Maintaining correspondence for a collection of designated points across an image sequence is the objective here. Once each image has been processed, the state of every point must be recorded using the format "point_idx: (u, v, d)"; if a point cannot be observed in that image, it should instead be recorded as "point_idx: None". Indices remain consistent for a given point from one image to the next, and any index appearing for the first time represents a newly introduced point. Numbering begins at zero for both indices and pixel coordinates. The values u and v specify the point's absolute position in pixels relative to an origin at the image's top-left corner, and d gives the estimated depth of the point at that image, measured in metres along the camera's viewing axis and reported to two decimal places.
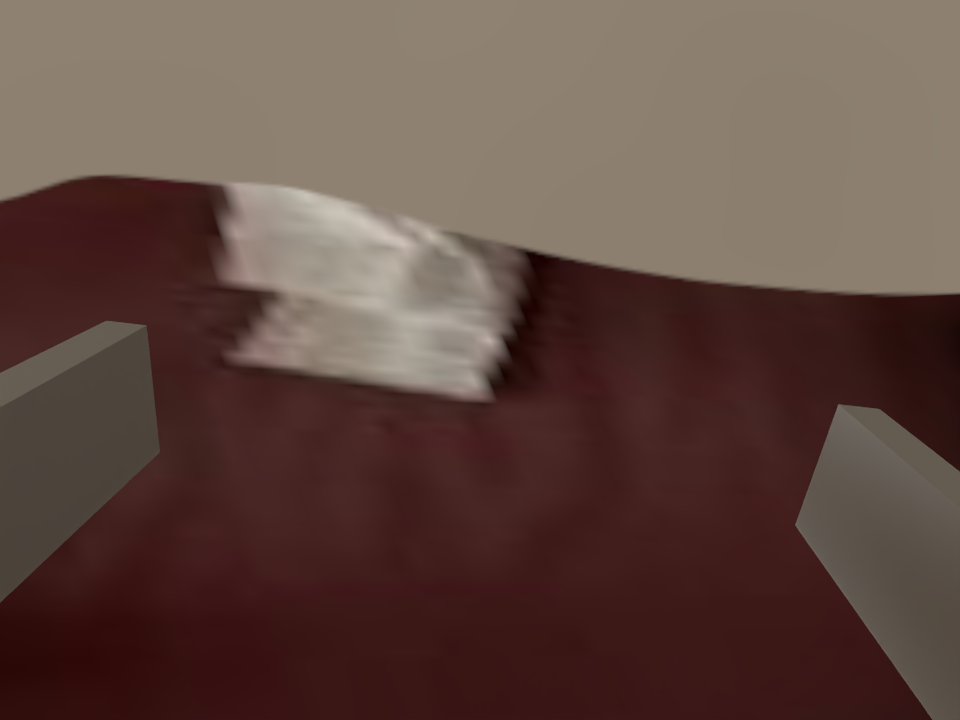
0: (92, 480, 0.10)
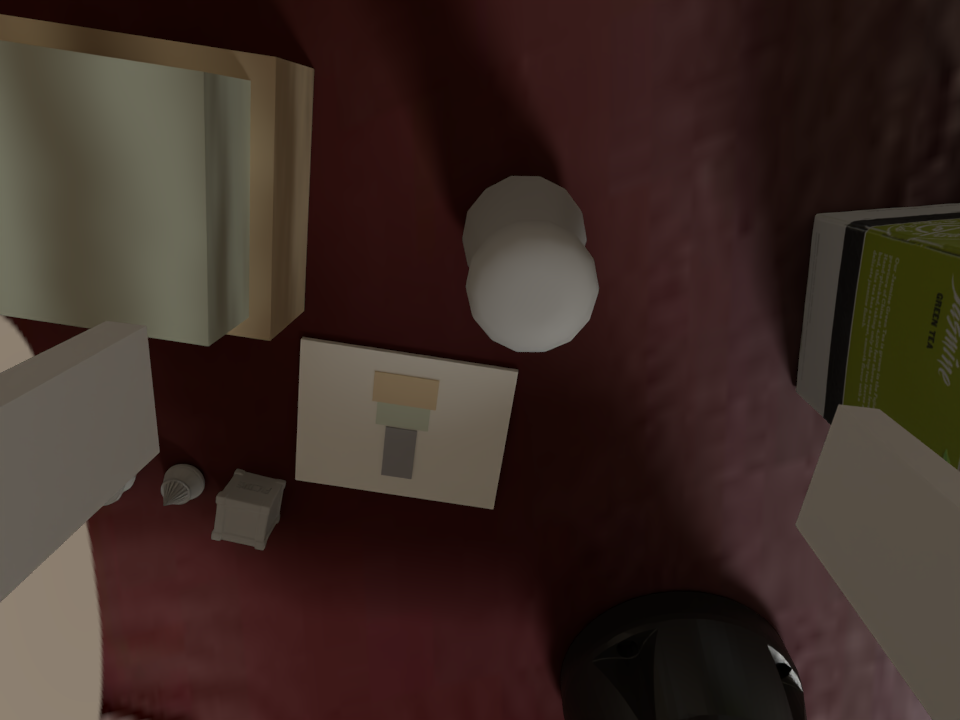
0: (92, 480, 0.10)
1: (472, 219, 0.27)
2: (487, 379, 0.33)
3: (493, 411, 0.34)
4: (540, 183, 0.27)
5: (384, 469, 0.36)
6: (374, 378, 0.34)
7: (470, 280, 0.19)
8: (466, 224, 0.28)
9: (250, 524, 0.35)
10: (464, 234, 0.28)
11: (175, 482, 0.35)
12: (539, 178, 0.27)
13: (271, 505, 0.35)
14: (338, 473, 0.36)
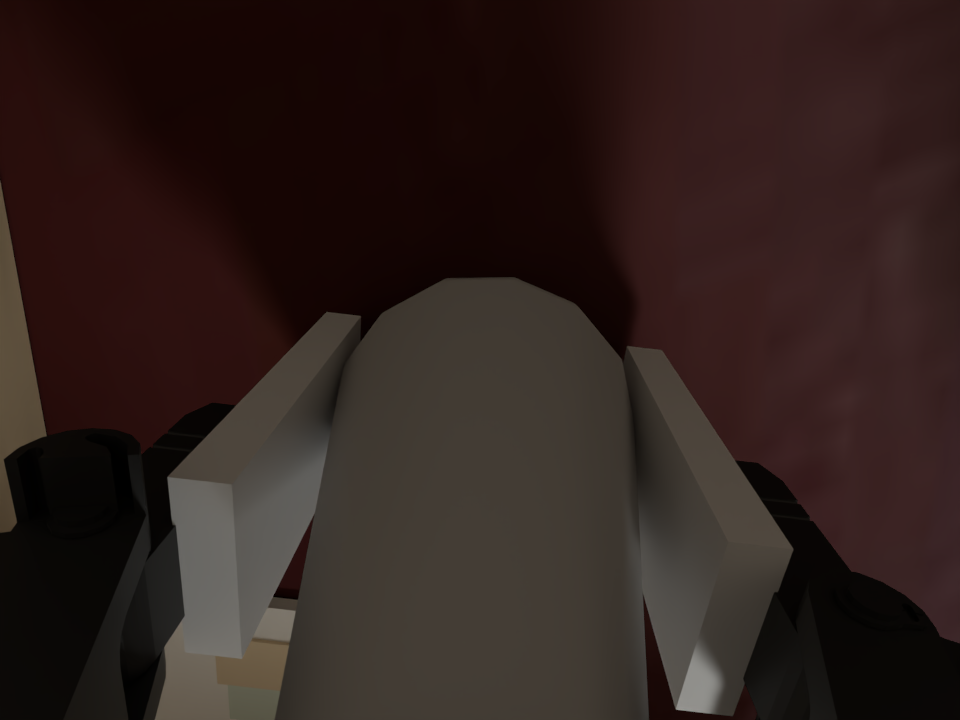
0: None
1: (335, 412, 0.10)
2: None
3: None
4: (513, 309, 0.10)
5: None
6: None
7: None
8: None
9: None
10: None
11: None
12: (512, 288, 0.11)
13: None
14: None
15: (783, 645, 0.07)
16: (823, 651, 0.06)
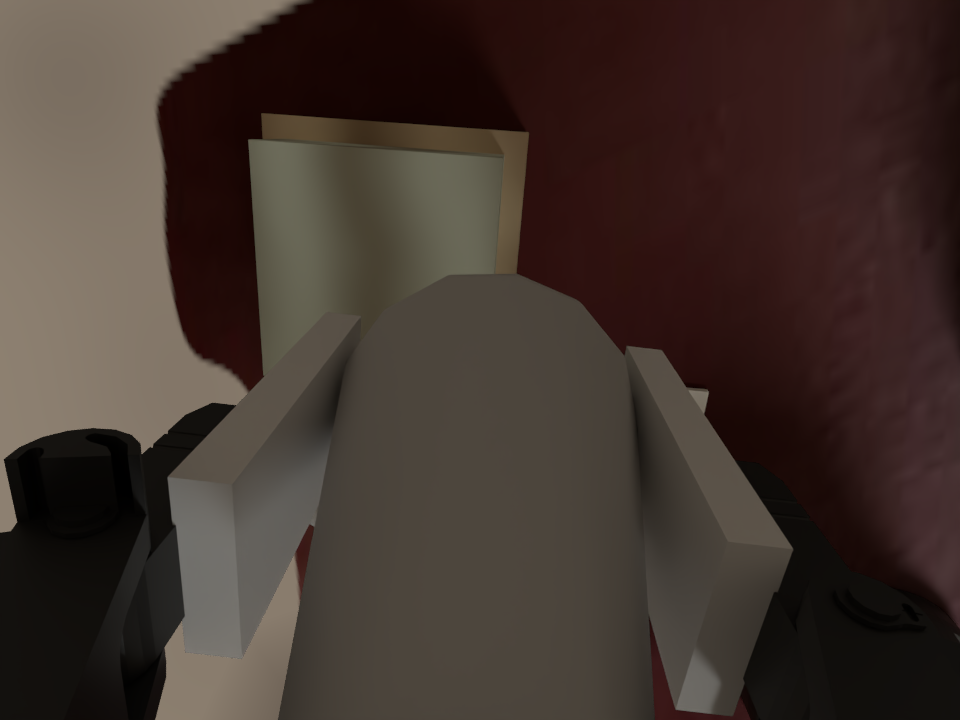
0: None
1: (338, 409, 0.10)
2: None
3: None
4: (516, 306, 0.10)
5: None
6: None
7: None
8: None
9: None
10: None
11: None
12: (515, 285, 0.11)
13: None
14: None
15: (782, 644, 0.07)
16: (823, 651, 0.06)
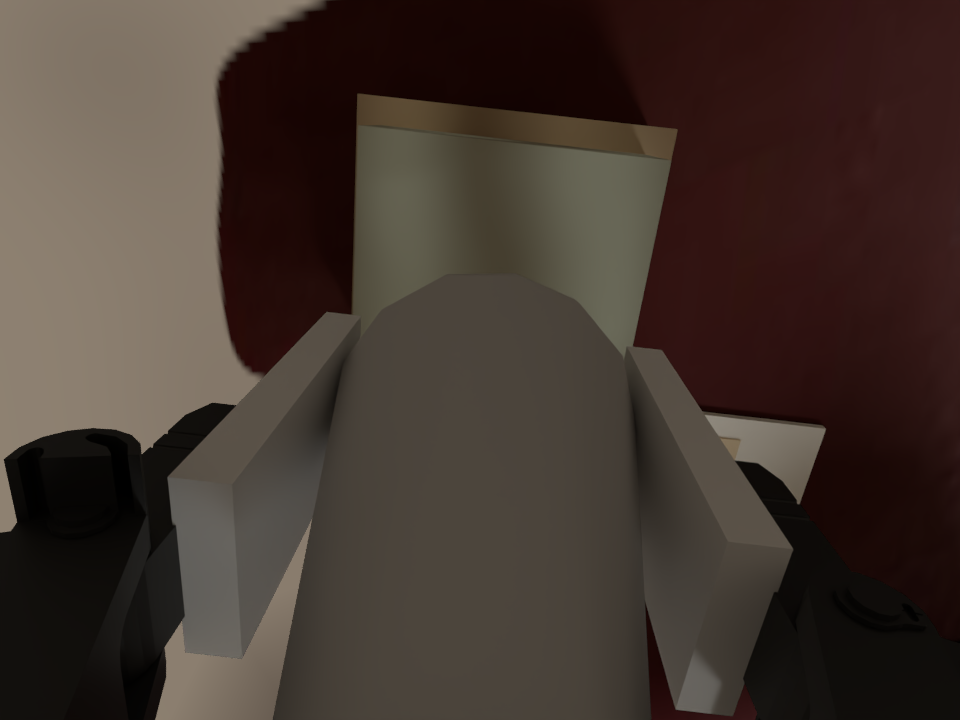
0: None
1: (335, 408, 0.10)
2: (791, 437, 0.32)
3: (793, 468, 0.33)
4: (514, 305, 0.10)
5: None
6: None
7: None
8: None
9: None
10: None
11: None
12: (513, 284, 0.11)
13: None
14: None
15: (782, 645, 0.07)
16: (823, 651, 0.06)
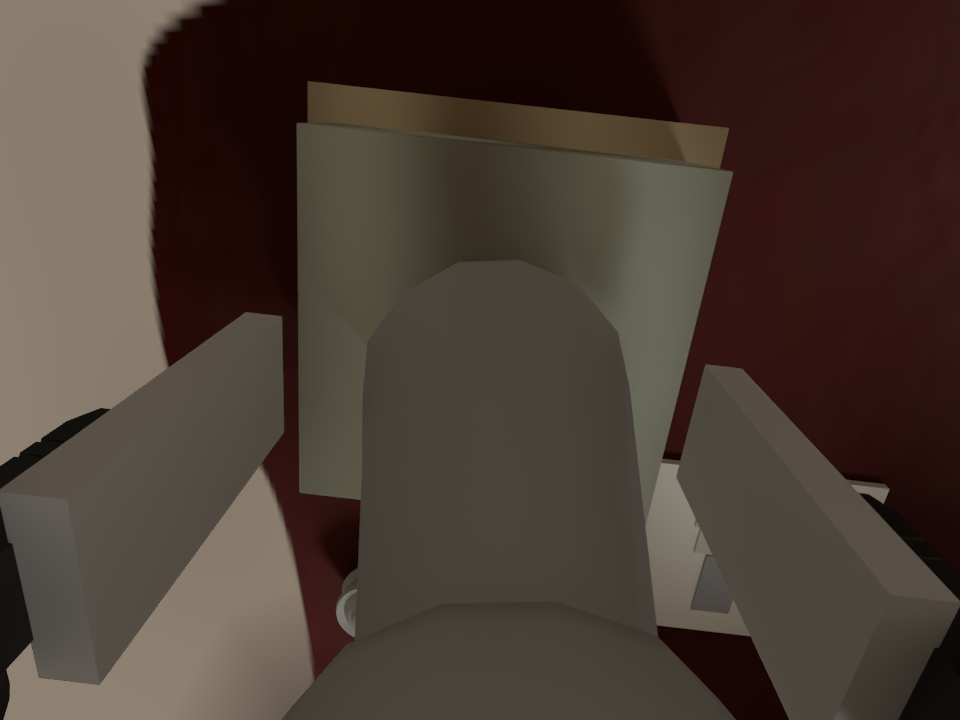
0: (247, 453, 0.11)
1: (367, 380, 0.11)
2: None
3: None
4: (523, 286, 0.11)
5: (696, 603, 0.29)
6: None
7: None
8: (365, 372, 0.13)
9: None
10: (363, 392, 0.13)
11: None
12: (520, 268, 0.12)
13: None
14: None
15: (953, 708, 0.06)
16: None
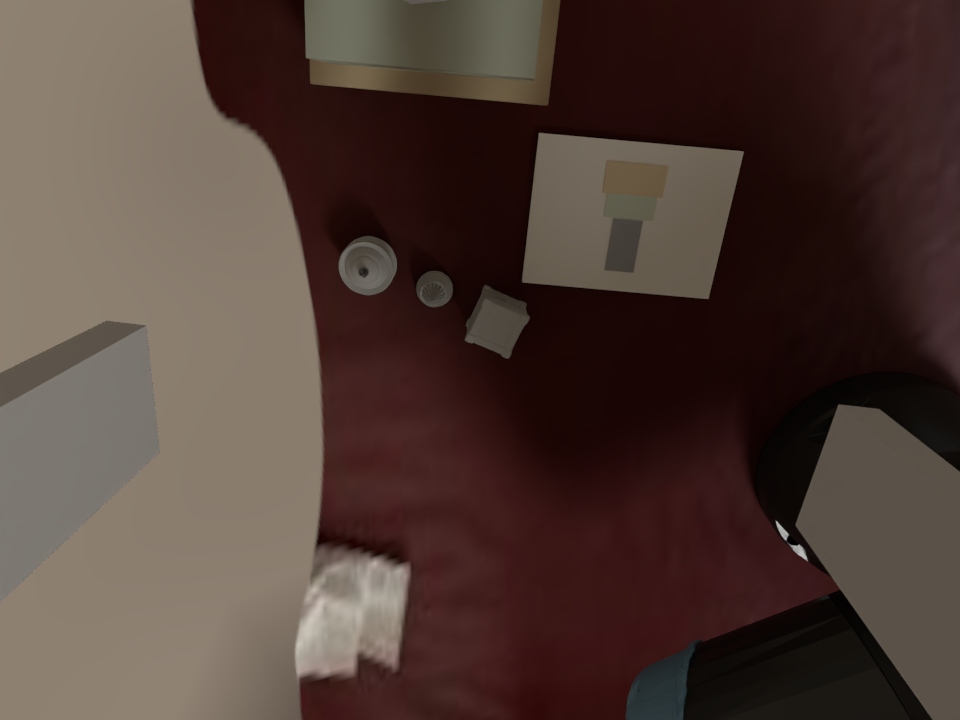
0: (93, 479, 0.10)
1: None
2: (713, 161, 0.36)
3: (716, 195, 0.36)
4: None
5: (608, 264, 0.38)
6: (606, 169, 0.36)
7: None
8: None
9: (504, 332, 0.38)
10: None
11: (436, 284, 0.38)
12: None
13: None
14: (563, 272, 0.39)
15: None
16: None
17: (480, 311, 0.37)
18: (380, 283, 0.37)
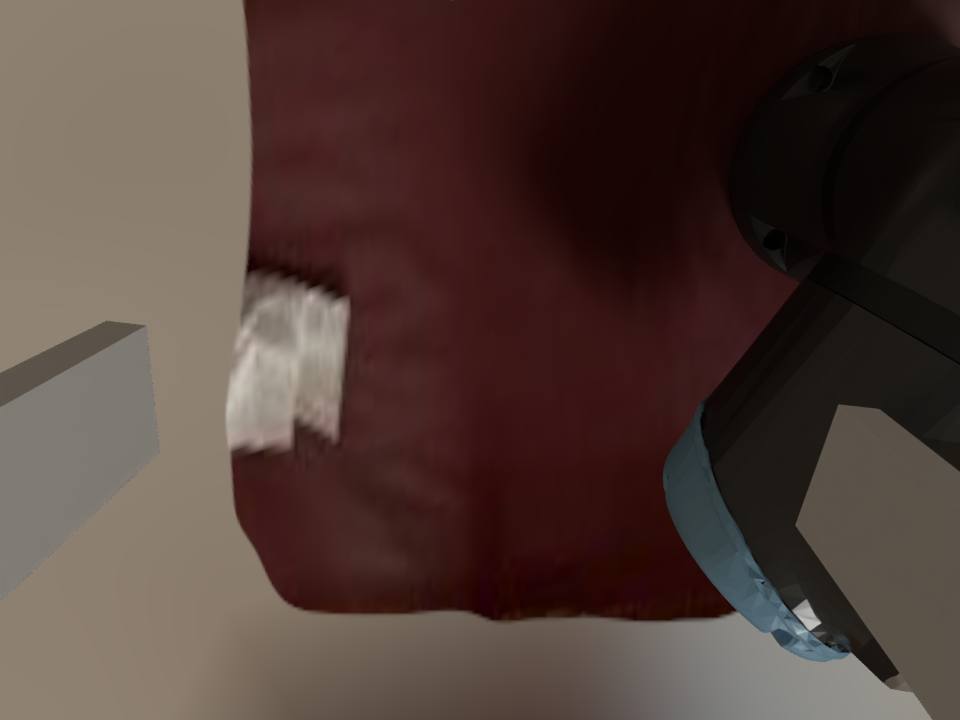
0: (92, 479, 0.10)
1: None
2: None
3: None
4: None
5: None
6: None
7: None
8: None
9: None
10: None
11: None
12: None
13: None
14: None
15: None
16: None
17: None
18: None
